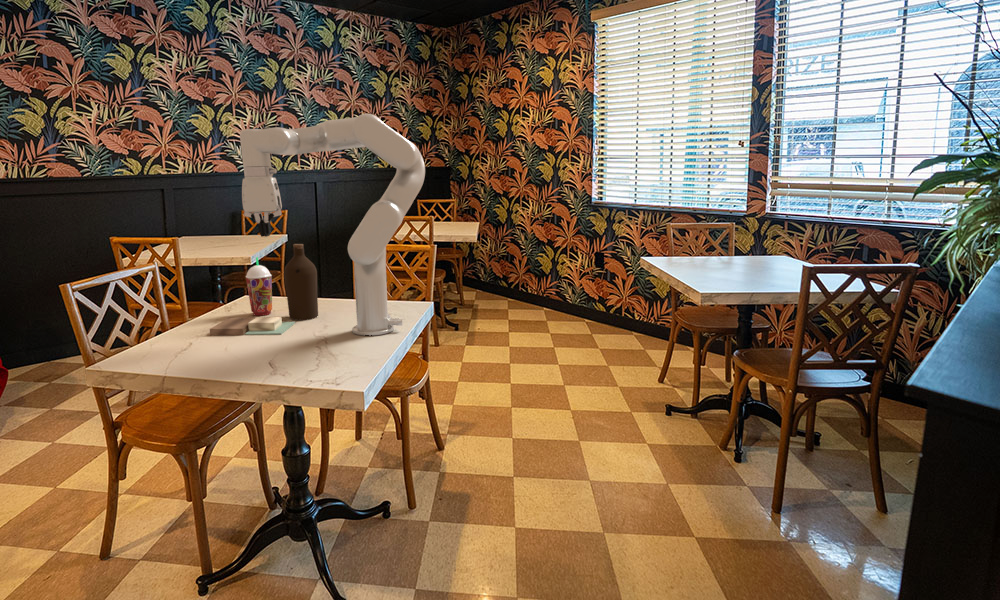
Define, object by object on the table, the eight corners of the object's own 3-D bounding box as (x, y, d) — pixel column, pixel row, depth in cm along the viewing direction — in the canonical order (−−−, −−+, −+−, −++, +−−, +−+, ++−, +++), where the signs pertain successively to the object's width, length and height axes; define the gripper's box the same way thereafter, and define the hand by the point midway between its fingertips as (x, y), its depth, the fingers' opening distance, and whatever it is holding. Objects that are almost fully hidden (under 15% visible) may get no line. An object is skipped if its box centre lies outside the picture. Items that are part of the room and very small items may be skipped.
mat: (295, 322, 196) (295, 321, 196) (281, 334, 182) (281, 333, 182) (261, 323, 196) (261, 322, 196) (245, 334, 182) (244, 333, 182)
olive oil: (325, 317, 203) (320, 244, 198) (294, 322, 196) (288, 247, 191) (312, 311, 211) (307, 241, 206) (282, 316, 205) (276, 244, 199)
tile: (282, 324, 192) (281, 317, 192) (274, 330, 186) (274, 322, 185) (257, 324, 192) (256, 317, 192) (248, 330, 185) (248, 322, 185)
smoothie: (266, 317, 204) (261, 259, 199) (244, 316, 205) (238, 258, 201) (279, 311, 212) (274, 255, 207) (257, 310, 213) (252, 255, 209)
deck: (260, 323, 196) (259, 317, 195) (243, 334, 182) (242, 328, 182) (229, 323, 196) (228, 317, 195) (210, 335, 182) (209, 328, 181)
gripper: (288, 172, 177) (294, 234, 181) (237, 173, 177) (245, 235, 181) (279, 172, 170) (286, 236, 174) (226, 174, 170) (235, 238, 174)
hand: (265, 236), depth 177 cm, fingers closed
